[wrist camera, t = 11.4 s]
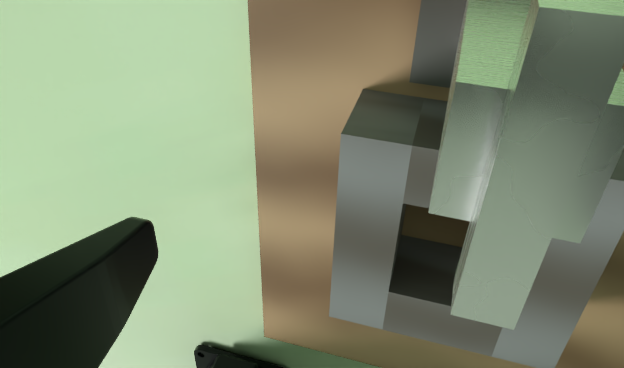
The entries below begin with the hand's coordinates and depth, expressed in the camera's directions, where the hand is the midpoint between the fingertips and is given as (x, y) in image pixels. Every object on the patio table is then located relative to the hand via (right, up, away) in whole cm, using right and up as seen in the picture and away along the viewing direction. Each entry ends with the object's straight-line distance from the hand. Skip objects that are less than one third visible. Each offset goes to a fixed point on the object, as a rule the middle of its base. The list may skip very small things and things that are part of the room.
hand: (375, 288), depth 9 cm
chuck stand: (+5, +1, +13) cm, 14 cm away
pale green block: (+5, +7, +7) cm, 11 cm away
